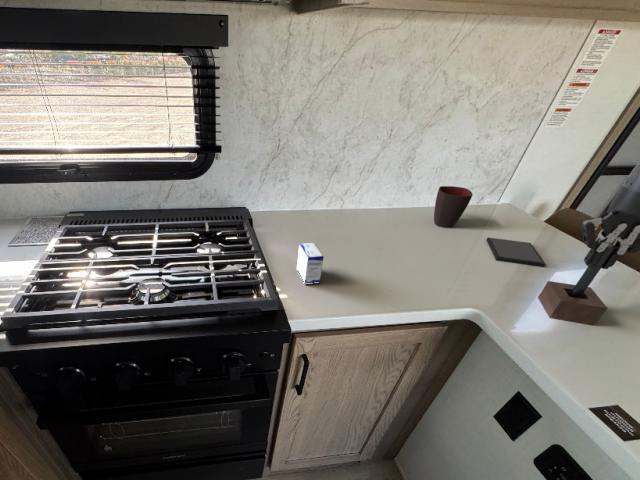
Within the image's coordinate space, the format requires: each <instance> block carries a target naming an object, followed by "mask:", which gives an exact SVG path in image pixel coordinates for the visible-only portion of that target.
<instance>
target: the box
mask: <svg viewBox="0 0 640 480" xmlns="http://www.w3.org/2000/svg"><path fill="white" fill-rule="evenodd" d="M298 245H299V246H298V254H297V255H298V256H297V262H296V271H297V270H298V271H299V273H300V275H301V277H302V279H303V281H304V282H303V281H302V282H303V285H304V286H307V285H308V286H309V285H312V284H307V285H305V284H304V283H314V282H320V283H321V276H322V270H323V264H324V257H325V256H324V255H323V253H322V252H321V250H320V249H319V247H318V246H317V244H316V243H315V242H305V243H304V242H303V243H299V244H298ZM299 273H298V274H299ZM300 275H299V276H300ZM301 277H300V278H301ZM302 279H301V280H302ZM318 284H319V283H315V284H314V285H318Z"/></svg>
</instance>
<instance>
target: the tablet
mask: <svg viewBox="0 0 640 480" xmlns="http://www.w3.org/2000/svg"><path fill="white" fill-rule="evenodd" d="M486 242H487V245H488V247H489V249H490V251H491V253H492V255H493V257H494V259H495V261H498V262H505V263H513V264H519V265H526V266H533V267H540V268H545V266H546V263H545V261H544V260H543V258H542V257H541V256H540V254H539V253H538V251H537V250H536V248H535V247H534V245H533V244H532V243H531V242H526V241H521V240H520V241H519V240H511V239H504V238H497V237H487V238H486Z"/></svg>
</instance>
